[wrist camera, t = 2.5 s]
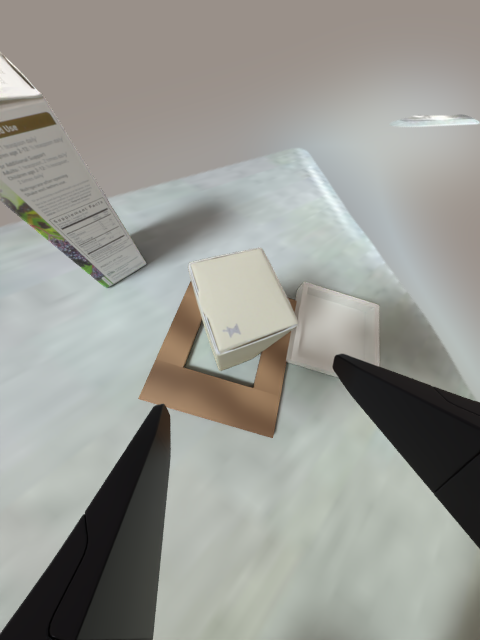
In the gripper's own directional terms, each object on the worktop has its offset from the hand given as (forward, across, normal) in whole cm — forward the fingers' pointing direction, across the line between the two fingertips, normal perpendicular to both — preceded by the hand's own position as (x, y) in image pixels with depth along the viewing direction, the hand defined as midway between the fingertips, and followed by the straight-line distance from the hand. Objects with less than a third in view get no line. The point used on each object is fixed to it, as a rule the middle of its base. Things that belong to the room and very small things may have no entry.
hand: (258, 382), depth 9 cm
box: (+11, 0, +5) cm, 12 cm away
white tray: (+10, -13, +6) cm, 17 cm away
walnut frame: (+11, 0, +5) cm, 12 cm away
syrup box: (+21, +12, -4) cm, 24 cm away
